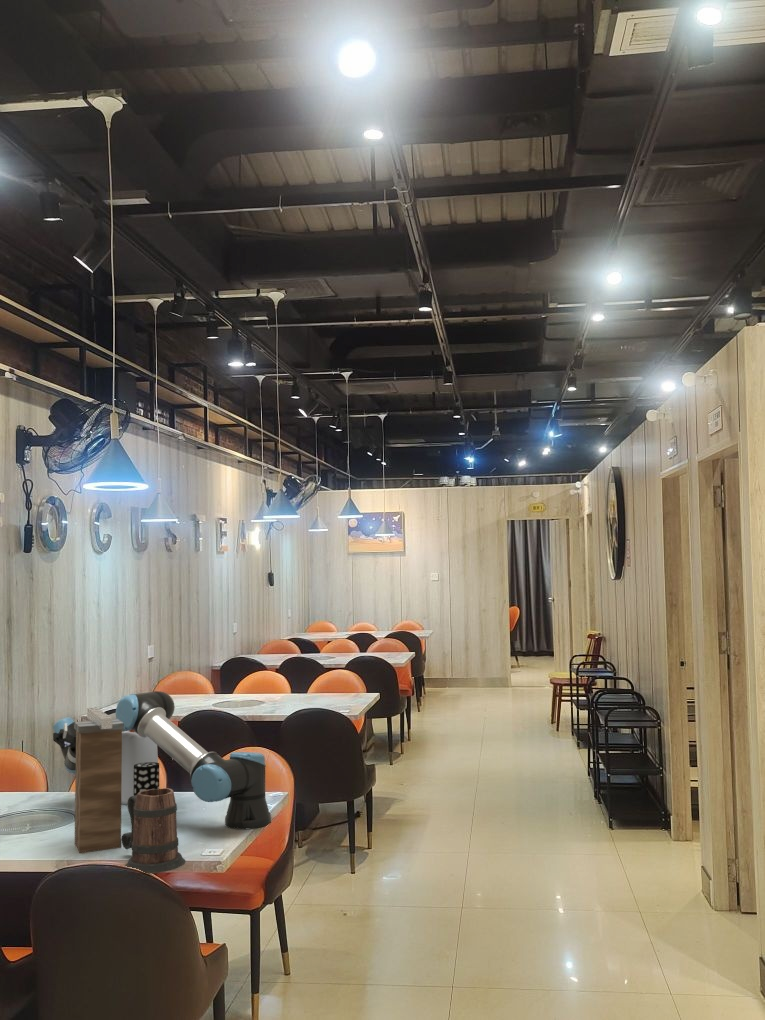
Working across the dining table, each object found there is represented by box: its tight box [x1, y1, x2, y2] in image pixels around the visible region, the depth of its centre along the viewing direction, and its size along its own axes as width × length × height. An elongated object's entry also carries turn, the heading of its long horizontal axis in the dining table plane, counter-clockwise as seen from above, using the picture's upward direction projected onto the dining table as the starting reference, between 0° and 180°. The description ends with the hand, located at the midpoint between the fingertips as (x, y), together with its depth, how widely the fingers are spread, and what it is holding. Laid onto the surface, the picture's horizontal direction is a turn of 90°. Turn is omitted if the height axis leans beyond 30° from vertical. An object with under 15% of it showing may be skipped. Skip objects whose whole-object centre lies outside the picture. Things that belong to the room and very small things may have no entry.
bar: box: [86, 706, 112, 729], centre depth 266 cm, size 32×3×3 cm, turn 26°
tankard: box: [121, 787, 186, 875], centre depth 244 cm, size 24×17×20 cm
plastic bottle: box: [121, 730, 159, 806], centre depth 323 cm, size 15×15×28 cm
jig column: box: [74, 719, 124, 854], centre depth 264 cm, size 13×13×37 cm
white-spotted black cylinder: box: [134, 762, 160, 796], centre depth 284 cm, size 8×8×20 cm
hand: (87, 725), depth 288 cm, fingers open, 13 cm apart
